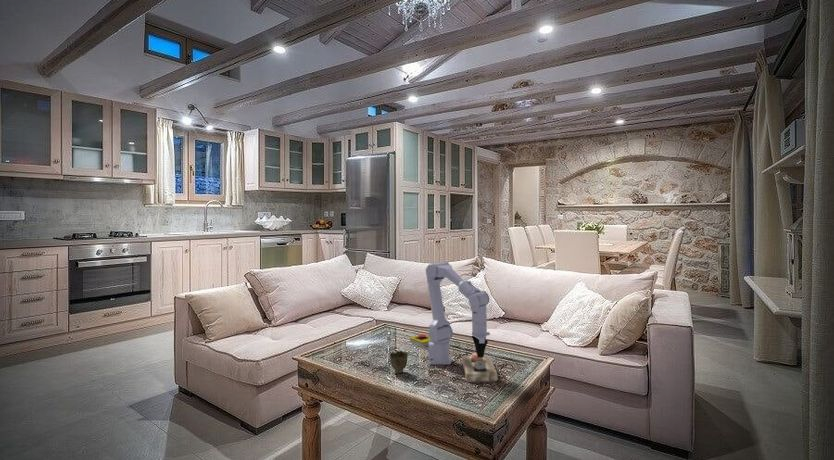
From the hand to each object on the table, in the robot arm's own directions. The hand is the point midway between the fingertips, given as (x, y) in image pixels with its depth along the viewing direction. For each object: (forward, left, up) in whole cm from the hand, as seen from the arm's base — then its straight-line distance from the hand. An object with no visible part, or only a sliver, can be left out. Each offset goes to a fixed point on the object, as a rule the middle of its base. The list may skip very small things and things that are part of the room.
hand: (479, 355), depth 159 cm
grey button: (0, 0, -6) cm, 6 cm away
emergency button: (-23, +43, -9) cm, 49 cm away
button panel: (0, +5, -8) cm, 10 cm away
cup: (-33, +5, -9) cm, 34 cm away
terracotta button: (0, +10, -6) cm, 12 cm away
